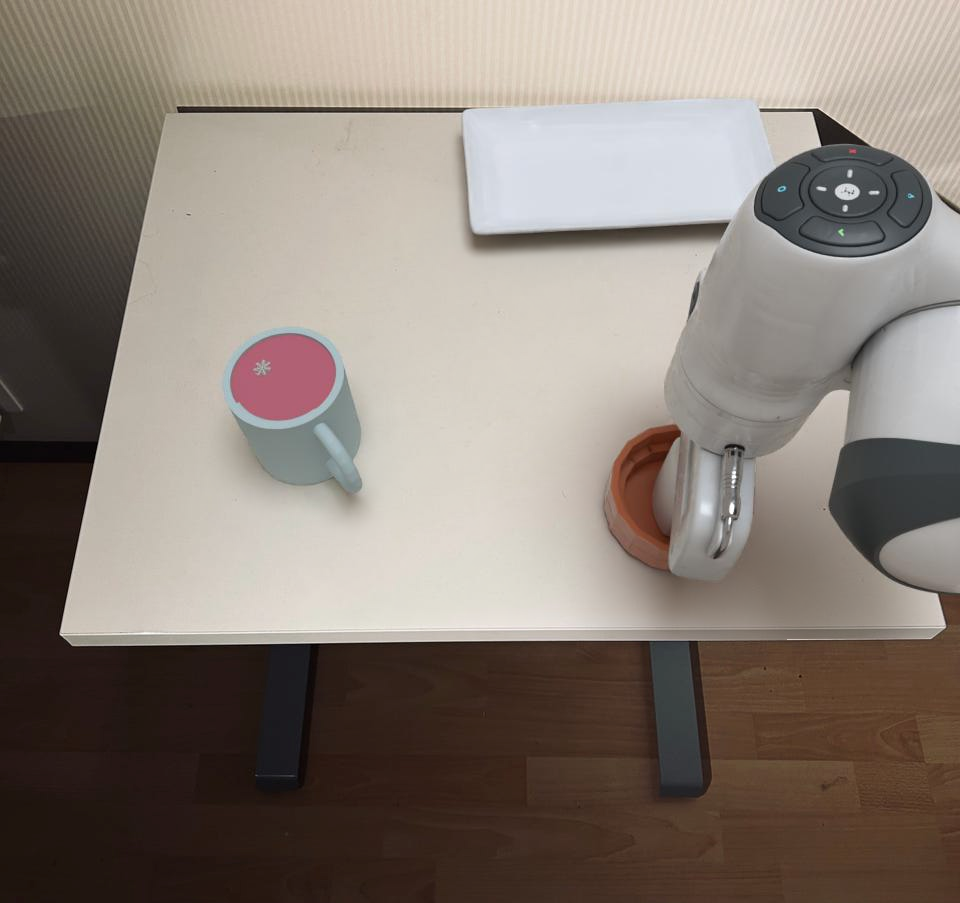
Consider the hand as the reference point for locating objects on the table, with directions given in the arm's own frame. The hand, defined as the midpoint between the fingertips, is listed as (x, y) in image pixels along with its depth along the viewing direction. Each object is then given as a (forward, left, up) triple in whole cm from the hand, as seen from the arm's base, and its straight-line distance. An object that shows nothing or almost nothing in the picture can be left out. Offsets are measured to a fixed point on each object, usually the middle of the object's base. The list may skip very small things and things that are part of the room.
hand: (687, 477), depth 61 cm
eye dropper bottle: (0, 0, -6) cm, 6 cm away
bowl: (0, 0, -6) cm, 6 cm away
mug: (+30, +1, -6) cm, 31 cm away
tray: (+9, -35, -6) cm, 37 cm away
